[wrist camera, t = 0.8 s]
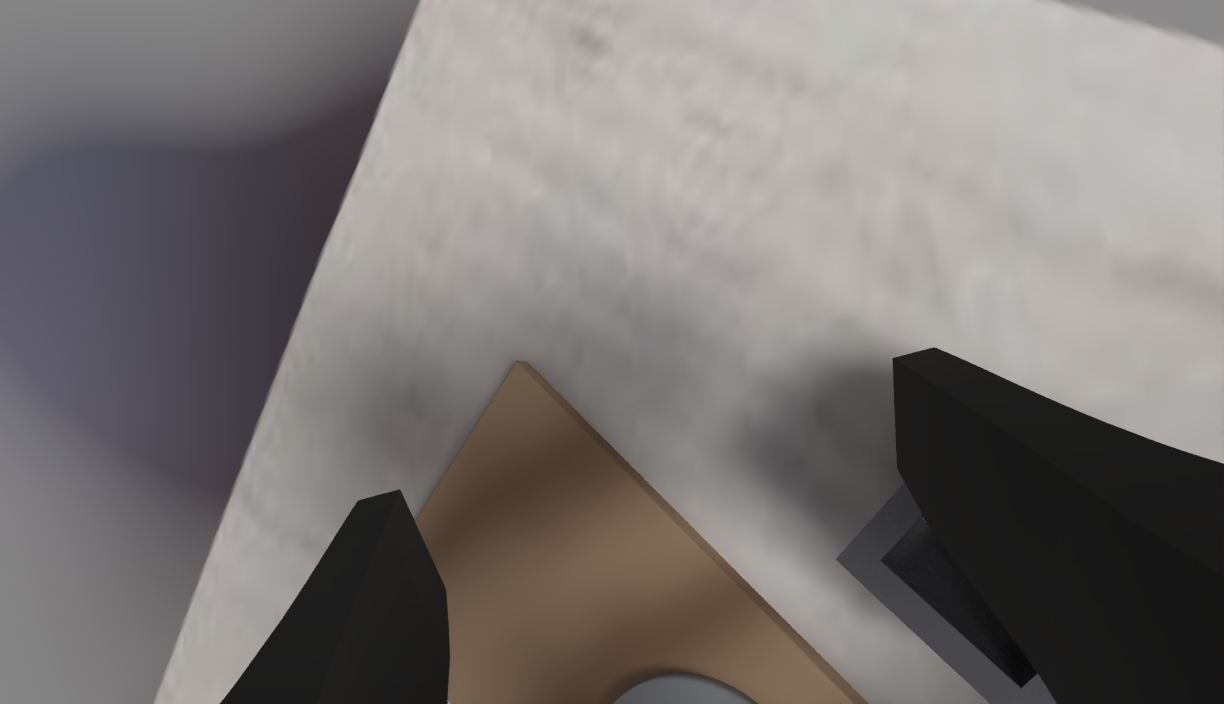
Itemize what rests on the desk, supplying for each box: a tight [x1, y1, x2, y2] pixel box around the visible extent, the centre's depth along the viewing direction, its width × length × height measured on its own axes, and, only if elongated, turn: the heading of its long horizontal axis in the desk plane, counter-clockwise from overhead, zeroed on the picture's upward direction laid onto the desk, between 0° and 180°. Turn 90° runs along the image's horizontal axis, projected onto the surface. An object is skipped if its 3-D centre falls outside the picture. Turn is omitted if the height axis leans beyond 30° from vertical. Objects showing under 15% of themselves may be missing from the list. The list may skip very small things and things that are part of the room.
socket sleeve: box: [836, 483, 1057, 704], centre depth 19 cm, size 5×5×5 cm
